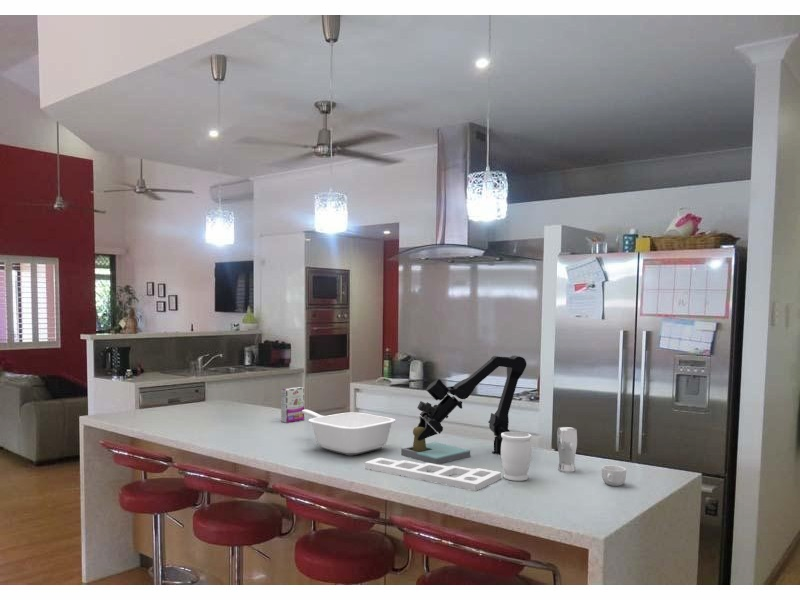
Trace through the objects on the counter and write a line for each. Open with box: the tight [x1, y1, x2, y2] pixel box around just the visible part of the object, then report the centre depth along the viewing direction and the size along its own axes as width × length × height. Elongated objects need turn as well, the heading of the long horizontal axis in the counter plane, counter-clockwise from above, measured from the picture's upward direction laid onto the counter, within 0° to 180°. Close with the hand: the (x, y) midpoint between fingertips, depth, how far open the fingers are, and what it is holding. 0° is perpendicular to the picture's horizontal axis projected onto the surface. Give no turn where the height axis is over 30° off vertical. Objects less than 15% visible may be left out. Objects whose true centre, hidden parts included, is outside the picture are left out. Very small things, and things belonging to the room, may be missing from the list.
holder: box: [364, 457, 502, 492], centre depth 221 cm, size 45×18×3 cm, turn 55°
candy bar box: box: [280, 386, 305, 424], centre depth 314 cm, size 11×5×16 cm, turn 138°
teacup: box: [601, 464, 627, 487], centre depth 209 cm, size 10×8×5 cm
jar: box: [500, 431, 532, 482], centre depth 216 cm, size 11×10×15 cm
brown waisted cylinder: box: [412, 426, 427, 452], centre depth 246 cm, size 6×6×11 cm
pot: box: [302, 408, 396, 456], centre depth 260 cm, size 28×44×13 cm, turn 48°
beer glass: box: [556, 426, 578, 473], centre depth 227 cm, size 7×7×15 cm
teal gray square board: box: [400, 441, 471, 465], centre depth 246 cm, size 19×19×2 cm
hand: (416, 437), depth 246 cm, fingers open, 9 cm apart
